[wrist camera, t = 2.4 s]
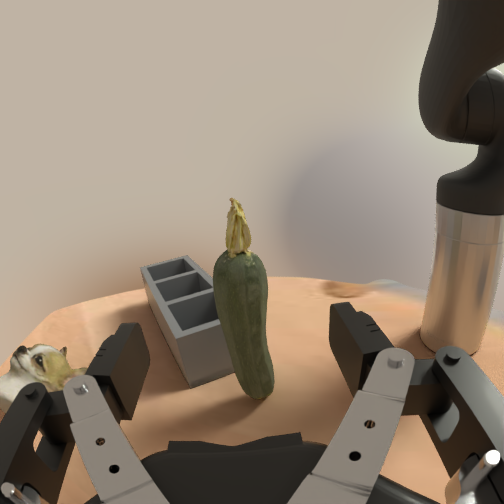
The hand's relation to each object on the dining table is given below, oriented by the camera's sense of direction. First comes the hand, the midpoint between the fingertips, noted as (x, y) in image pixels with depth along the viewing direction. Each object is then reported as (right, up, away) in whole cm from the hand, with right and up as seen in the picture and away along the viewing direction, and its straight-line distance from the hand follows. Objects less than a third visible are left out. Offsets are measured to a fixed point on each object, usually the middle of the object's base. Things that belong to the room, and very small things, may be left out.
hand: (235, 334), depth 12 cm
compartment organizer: (-8, -8, +30) cm, 32 cm away
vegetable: (+1, -12, +16) cm, 20 cm away
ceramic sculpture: (-23, -15, +15) cm, 32 cm away
